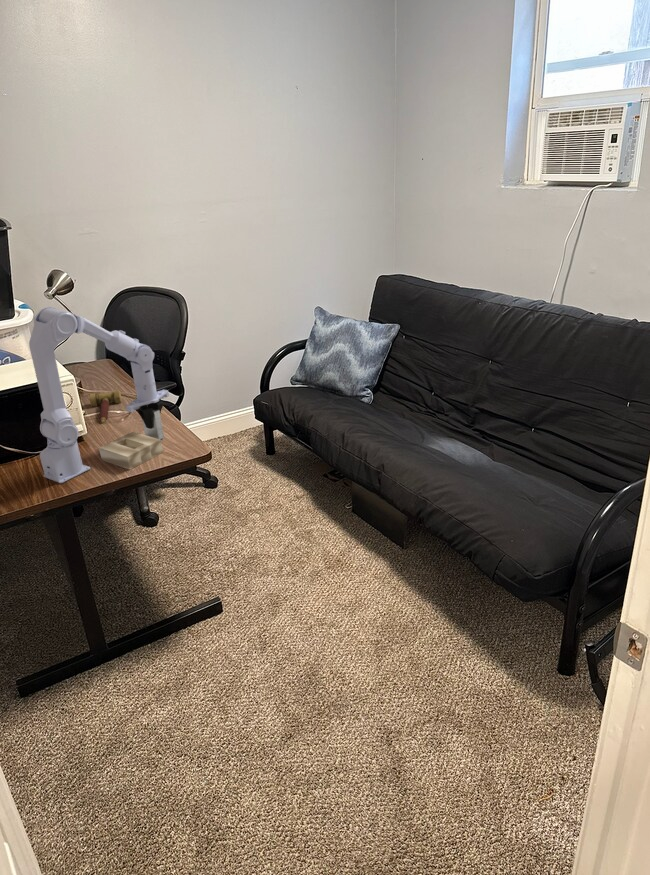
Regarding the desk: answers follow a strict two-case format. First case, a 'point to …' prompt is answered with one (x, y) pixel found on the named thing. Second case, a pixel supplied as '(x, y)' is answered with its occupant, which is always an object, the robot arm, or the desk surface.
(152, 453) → the beige compartment tray
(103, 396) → the gavel
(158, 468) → the desk surface
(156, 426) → the frosted upright panel
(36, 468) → the desk surface
